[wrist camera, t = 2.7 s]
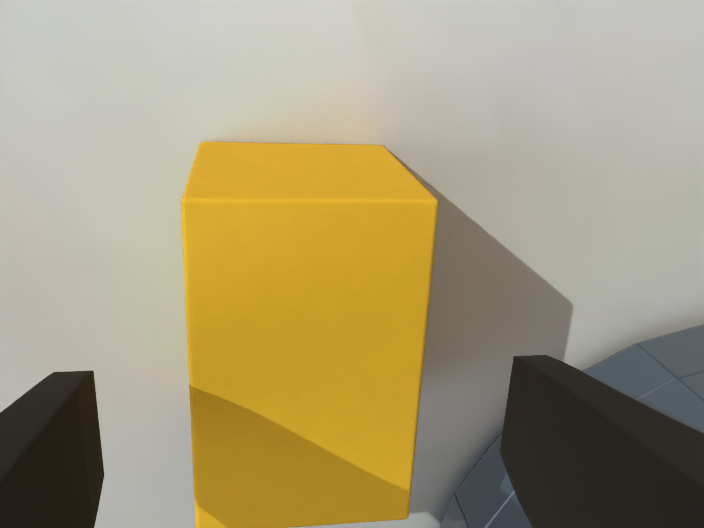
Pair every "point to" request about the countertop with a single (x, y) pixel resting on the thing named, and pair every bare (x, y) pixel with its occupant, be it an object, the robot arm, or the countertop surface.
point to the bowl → (619, 373)
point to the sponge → (304, 331)
